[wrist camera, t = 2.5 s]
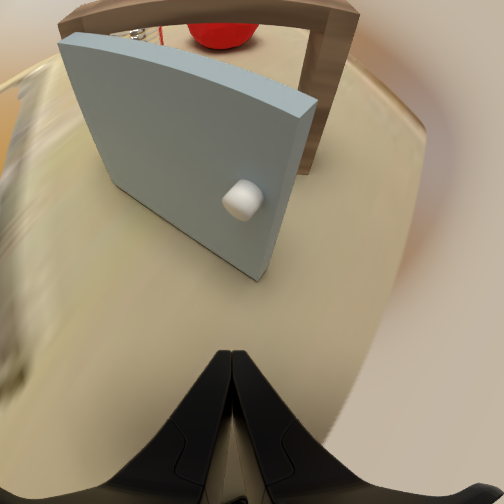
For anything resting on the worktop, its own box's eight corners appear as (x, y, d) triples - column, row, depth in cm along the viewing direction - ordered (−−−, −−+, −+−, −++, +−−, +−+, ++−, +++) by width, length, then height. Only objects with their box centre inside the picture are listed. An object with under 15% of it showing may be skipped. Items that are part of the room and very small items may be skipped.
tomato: (177, 55, 39) (173, -5, 28) (199, 30, 43) (199, -20, 33) (251, 61, 38) (257, -2, 28) (263, 35, 43) (269, -16, 33)
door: (248, 293, 23) (281, 136, 9) (105, 191, 26) (42, 52, 12) (267, 266, 24) (318, 99, 10) (123, 173, 27) (75, 32, 13)
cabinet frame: (308, 174, 29) (360, 14, 13) (112, 174, 28) (57, 24, 12) (303, 146, 31) (344, -2, 15) (122, 146, 29) (80, 5, 14)
